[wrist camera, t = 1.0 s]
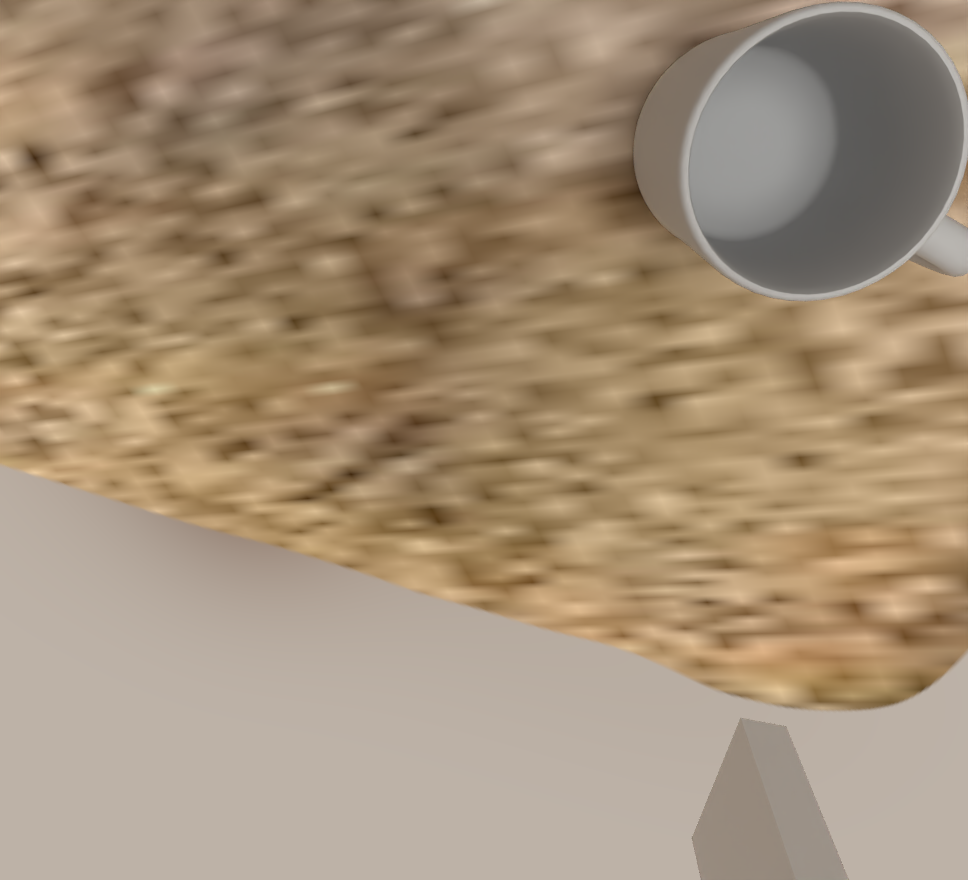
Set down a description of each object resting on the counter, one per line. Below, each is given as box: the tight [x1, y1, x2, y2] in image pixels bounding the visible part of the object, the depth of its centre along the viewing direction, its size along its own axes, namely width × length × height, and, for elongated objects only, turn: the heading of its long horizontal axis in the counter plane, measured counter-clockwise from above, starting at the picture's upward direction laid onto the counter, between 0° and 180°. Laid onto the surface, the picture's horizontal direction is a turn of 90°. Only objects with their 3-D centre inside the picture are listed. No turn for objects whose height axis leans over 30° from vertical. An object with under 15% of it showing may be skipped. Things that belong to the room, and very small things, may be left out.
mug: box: [633, 2, 968, 301], centre depth 29 cm, size 12×8×11 cm
